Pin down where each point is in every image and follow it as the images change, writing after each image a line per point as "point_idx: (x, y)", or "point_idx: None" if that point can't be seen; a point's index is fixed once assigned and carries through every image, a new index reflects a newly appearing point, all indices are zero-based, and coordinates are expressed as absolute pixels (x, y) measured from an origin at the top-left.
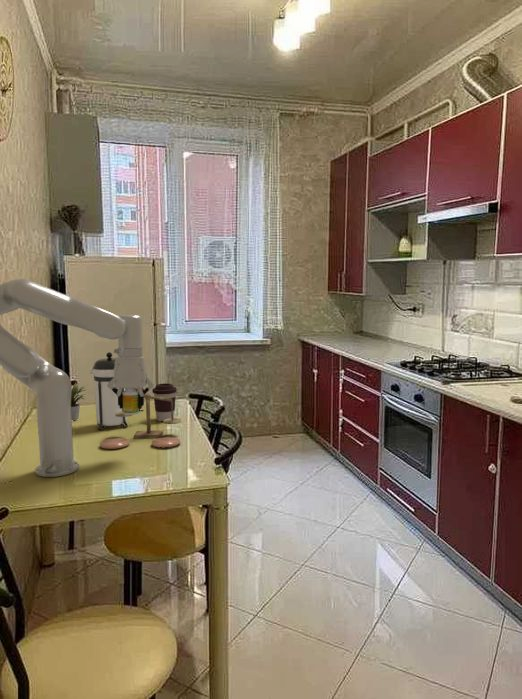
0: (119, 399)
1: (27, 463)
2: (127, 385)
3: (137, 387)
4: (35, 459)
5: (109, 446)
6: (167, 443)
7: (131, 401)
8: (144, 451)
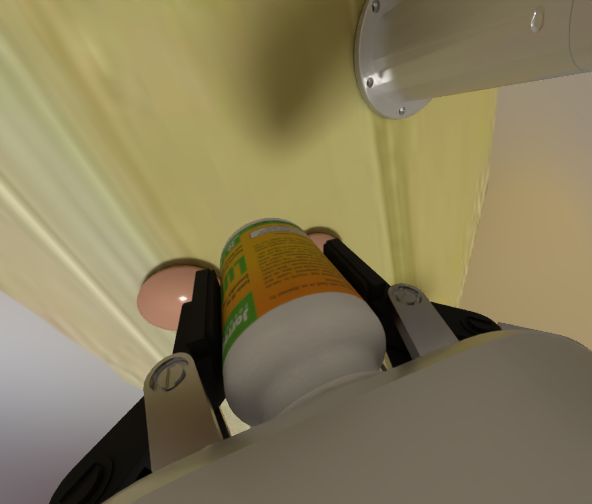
0: (370, 268)
1: (460, 121)
2: (412, 431)
3: (181, 477)
4: (447, 152)
5: (318, 236)
6: (169, 287)
7: (264, 267)
8: (222, 237)
